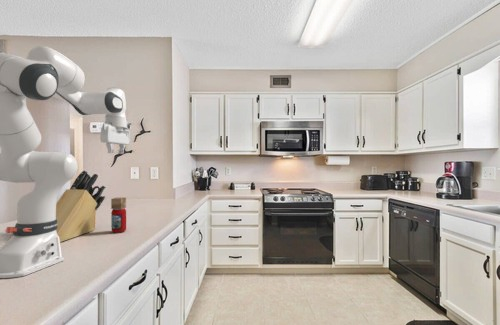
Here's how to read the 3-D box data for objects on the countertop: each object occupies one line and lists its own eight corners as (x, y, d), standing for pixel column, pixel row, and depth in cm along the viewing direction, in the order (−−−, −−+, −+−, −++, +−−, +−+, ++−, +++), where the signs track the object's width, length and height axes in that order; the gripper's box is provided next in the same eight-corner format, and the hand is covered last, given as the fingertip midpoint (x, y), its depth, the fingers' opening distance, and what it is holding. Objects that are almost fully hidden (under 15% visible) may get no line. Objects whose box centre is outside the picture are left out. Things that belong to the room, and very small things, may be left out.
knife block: (107, 226, 155) (107, 169, 155) (55, 245, 120) (55, 172, 120) (88, 225, 156) (88, 169, 156) (32, 244, 122) (31, 172, 121)
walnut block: (121, 208, 140) (121, 198, 140) (111, 208, 140) (111, 198, 140) (126, 207, 145) (126, 197, 145) (116, 207, 145) (116, 197, 145)
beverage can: (108, 232, 141) (108, 208, 141) (120, 229, 147) (120, 206, 147) (117, 234, 138) (117, 209, 138) (129, 231, 144) (129, 207, 144)
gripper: (110, 120, 122) (110, 152, 122) (132, 126, 142) (132, 154, 142) (96, 120, 122) (96, 152, 122) (120, 126, 143) (120, 154, 143)
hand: (116, 153), depth 132 cm, fingers open, 8 cm apart
